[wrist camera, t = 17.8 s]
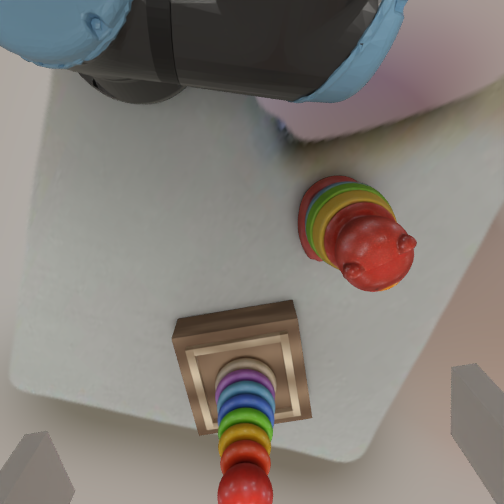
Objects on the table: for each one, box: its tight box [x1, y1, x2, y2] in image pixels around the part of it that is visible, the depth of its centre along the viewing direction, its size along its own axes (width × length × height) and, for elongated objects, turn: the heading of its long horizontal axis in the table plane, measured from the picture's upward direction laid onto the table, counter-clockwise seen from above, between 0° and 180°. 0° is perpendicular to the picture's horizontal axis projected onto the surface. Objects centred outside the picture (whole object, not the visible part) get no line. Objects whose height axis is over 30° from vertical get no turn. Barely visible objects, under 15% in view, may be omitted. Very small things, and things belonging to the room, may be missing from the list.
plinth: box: [172, 300, 312, 436], centre depth 52 cm, size 16×16×6 cm
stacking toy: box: [215, 358, 277, 504], centre depth 41 cm, size 8×8×19 cm
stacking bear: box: [298, 176, 417, 292], centre depth 40 cm, size 11×10×18 cm
